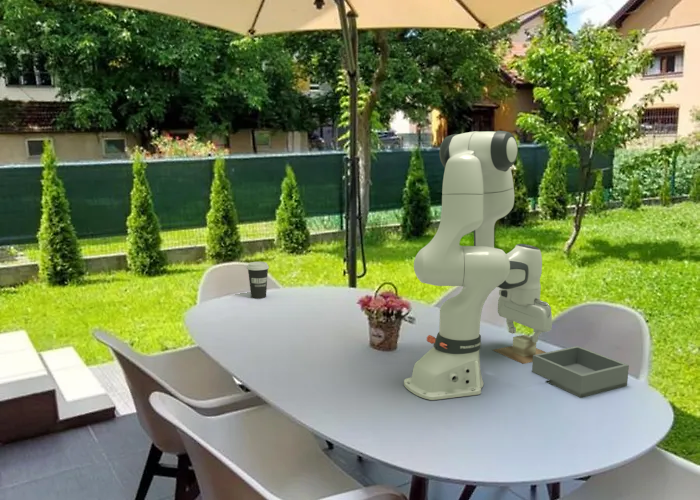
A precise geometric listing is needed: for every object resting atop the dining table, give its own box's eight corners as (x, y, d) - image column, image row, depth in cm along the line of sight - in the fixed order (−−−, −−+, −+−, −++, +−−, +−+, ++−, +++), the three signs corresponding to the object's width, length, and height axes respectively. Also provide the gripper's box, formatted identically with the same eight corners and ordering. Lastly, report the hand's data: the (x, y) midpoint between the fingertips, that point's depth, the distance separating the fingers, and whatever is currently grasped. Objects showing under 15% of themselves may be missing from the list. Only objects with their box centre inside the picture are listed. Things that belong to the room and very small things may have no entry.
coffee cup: (244, 299, 260) (243, 265, 258) (251, 293, 269) (250, 261, 267) (265, 300, 259) (265, 265, 256) (272, 294, 268) (271, 261, 265)
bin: (580, 397, 159) (582, 376, 158) (531, 374, 175) (533, 355, 174) (627, 385, 167) (628, 365, 166) (576, 364, 183) (577, 345, 182)
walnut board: (522, 367, 181) (522, 363, 181) (491, 352, 193) (492, 349, 193) (556, 359, 187) (556, 356, 187) (524, 346, 200) (525, 343, 199)
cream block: (523, 356, 187) (524, 341, 186) (512, 352, 191) (513, 336, 190) (535, 354, 189) (536, 339, 188) (524, 349, 193) (525, 334, 193)
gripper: (558, 302, 181) (555, 345, 183) (509, 286, 198) (507, 326, 201) (543, 305, 178) (540, 349, 180) (495, 289, 195) (493, 329, 198)
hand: (522, 337), depth 191 cm, fingers open, 8 cm apart
